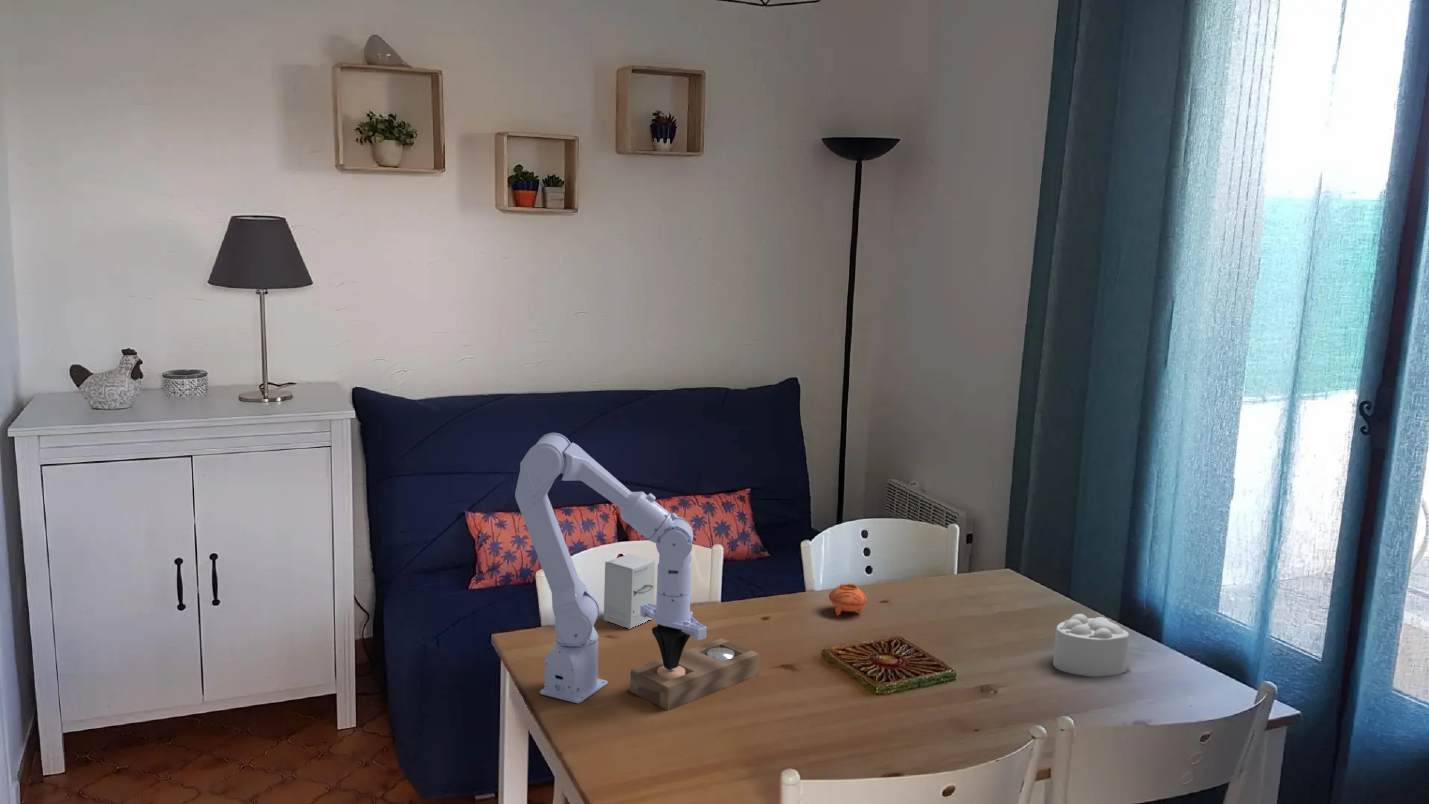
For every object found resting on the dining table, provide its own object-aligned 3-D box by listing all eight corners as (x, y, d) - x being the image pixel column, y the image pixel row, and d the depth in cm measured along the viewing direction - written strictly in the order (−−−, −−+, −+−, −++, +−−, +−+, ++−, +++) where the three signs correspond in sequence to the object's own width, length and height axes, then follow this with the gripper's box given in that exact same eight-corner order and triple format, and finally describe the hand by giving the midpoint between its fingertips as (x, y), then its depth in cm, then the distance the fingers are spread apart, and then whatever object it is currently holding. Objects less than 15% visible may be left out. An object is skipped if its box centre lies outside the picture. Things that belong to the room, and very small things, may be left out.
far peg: (720, 681, 193) (720, 660, 193) (701, 672, 197) (701, 652, 196) (739, 674, 197) (739, 653, 196) (720, 665, 200) (720, 645, 199)
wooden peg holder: (667, 710, 181) (668, 687, 181) (630, 691, 188) (630, 669, 187) (758, 674, 197) (759, 653, 196) (720, 658, 203) (721, 638, 203)
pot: (819, 607, 232) (827, 576, 231) (851, 612, 234) (859, 582, 234) (834, 619, 224) (843, 587, 224) (868, 624, 227) (876, 593, 226)
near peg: (669, 700, 185) (670, 678, 184) (650, 691, 188) (651, 669, 188) (690, 692, 188) (691, 671, 188) (671, 683, 192) (672, 662, 191)
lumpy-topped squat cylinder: (1133, 673, 203) (1137, 628, 202) (1072, 679, 200) (1076, 634, 198) (1098, 651, 213) (1102, 609, 212) (1040, 657, 210) (1044, 613, 208)
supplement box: (630, 630, 216) (631, 569, 214) (602, 621, 220) (603, 560, 218) (654, 620, 221) (656, 560, 219) (627, 611, 226) (628, 552, 224)
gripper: (720, 597, 183) (717, 674, 185) (662, 575, 193) (660, 648, 195) (689, 606, 178) (687, 685, 180) (631, 583, 188) (629, 658, 190)
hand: (671, 667), depth 188 cm, fingers closed
